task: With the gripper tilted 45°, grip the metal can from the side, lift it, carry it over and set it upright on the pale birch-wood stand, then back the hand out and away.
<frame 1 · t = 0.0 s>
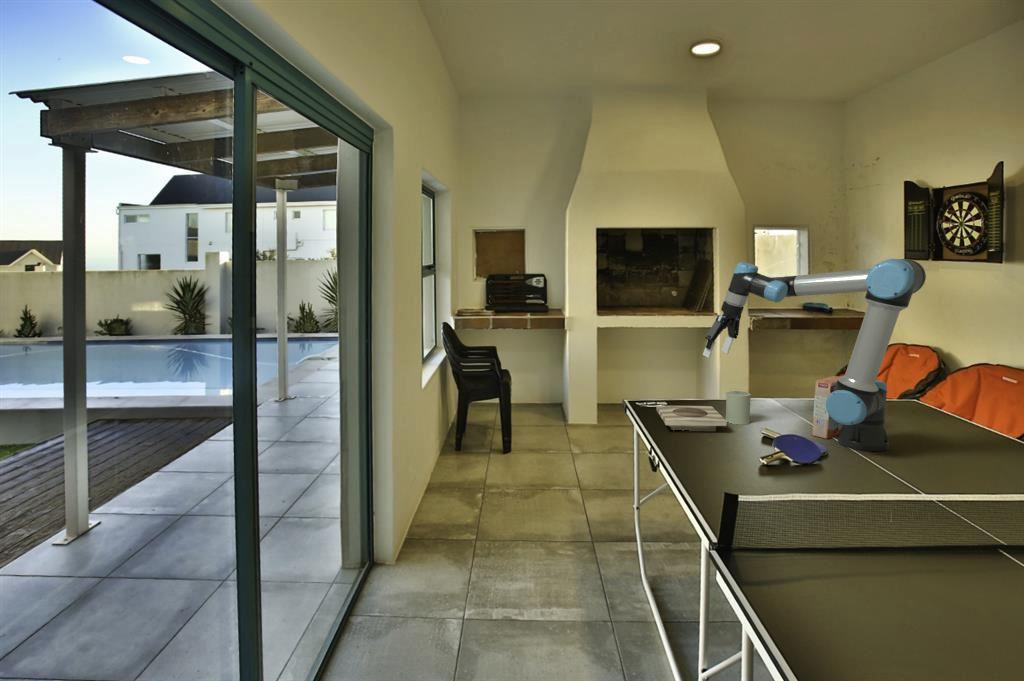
hand: (715, 354, 223), 28 cm above the table, tool tilted 20°, fingers open, 13 cm apart
stand: (689, 425, 225), on the table
can: (737, 422, 229), on the table
cracker box: (828, 434, 211), on the table
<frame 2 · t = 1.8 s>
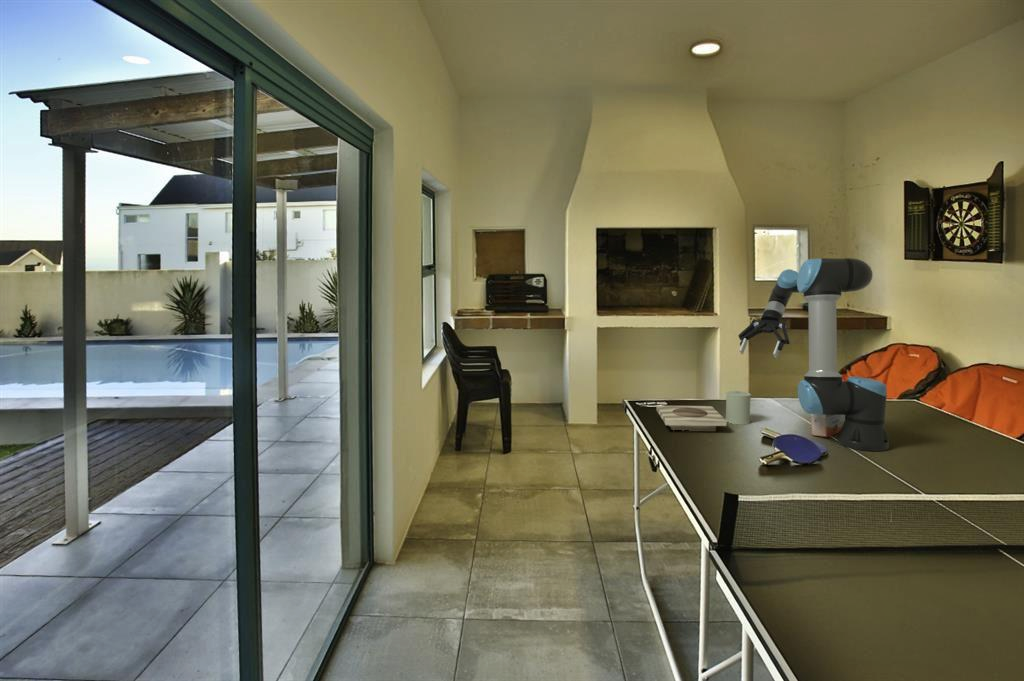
hand: (757, 354, 235), 26 cm above the table, tool tilted 45°, fingers open, 13 cm apart
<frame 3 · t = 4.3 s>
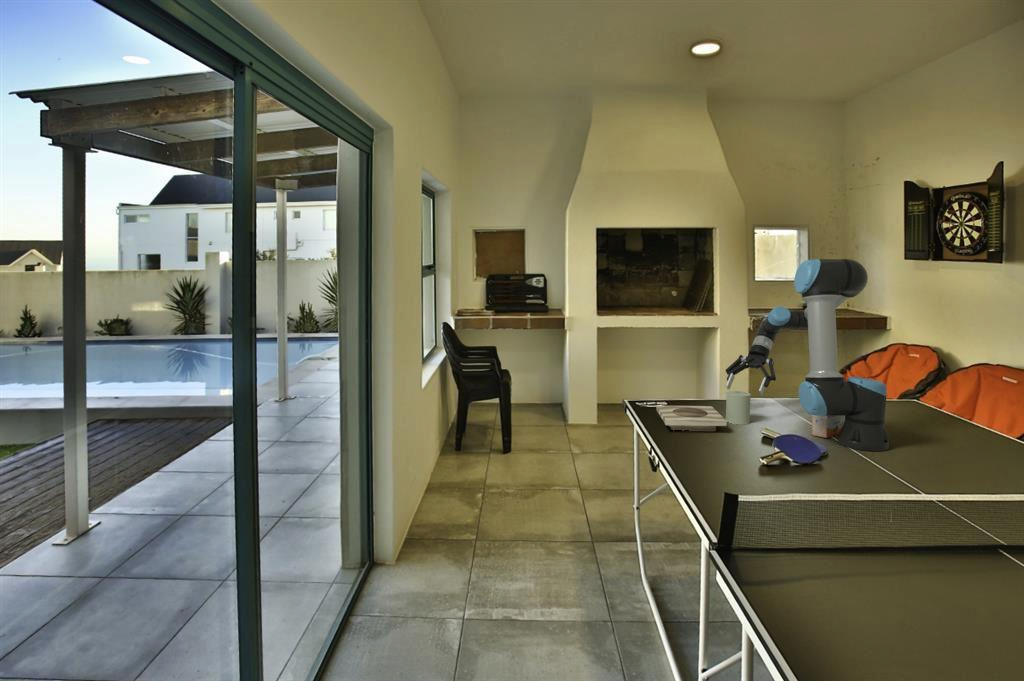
hand: (743, 390, 233), 12 cm above the table, tool tilted 45°, fingers open, 13 cm apart
cracker box: (828, 434, 211), on the table, touching arm
everything else where it was.
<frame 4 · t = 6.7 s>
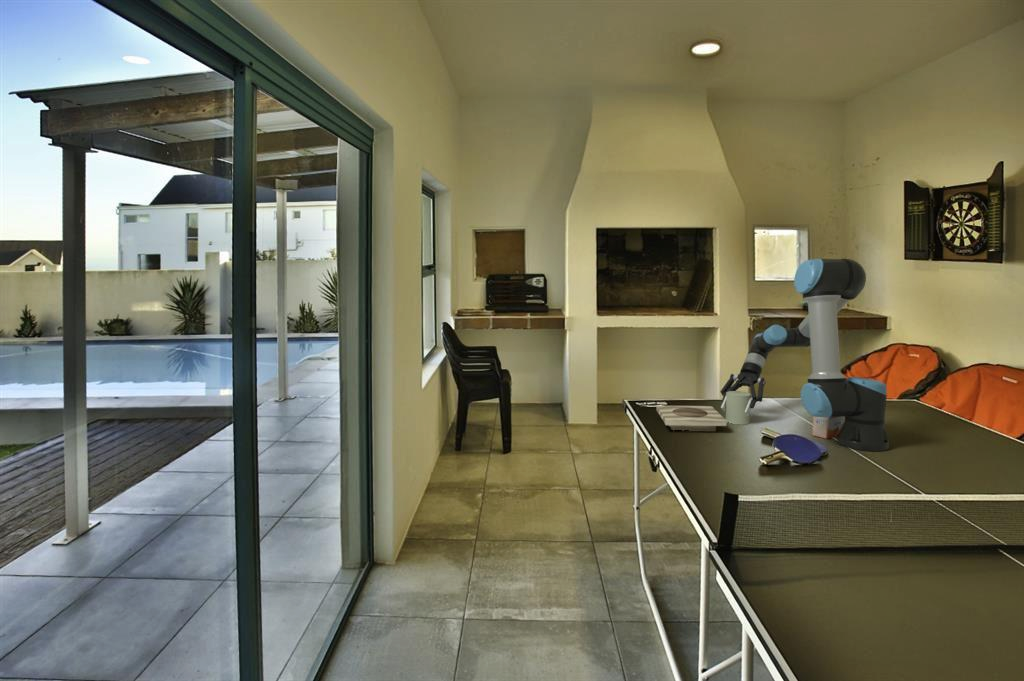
hand: (734, 411, 226), 5 cm above the table, tool tilted 45°, fingers closed on can, 9 cm apart
can: (737, 422, 229), on the table, touching gripper
cracker box: (828, 434, 211), on the table
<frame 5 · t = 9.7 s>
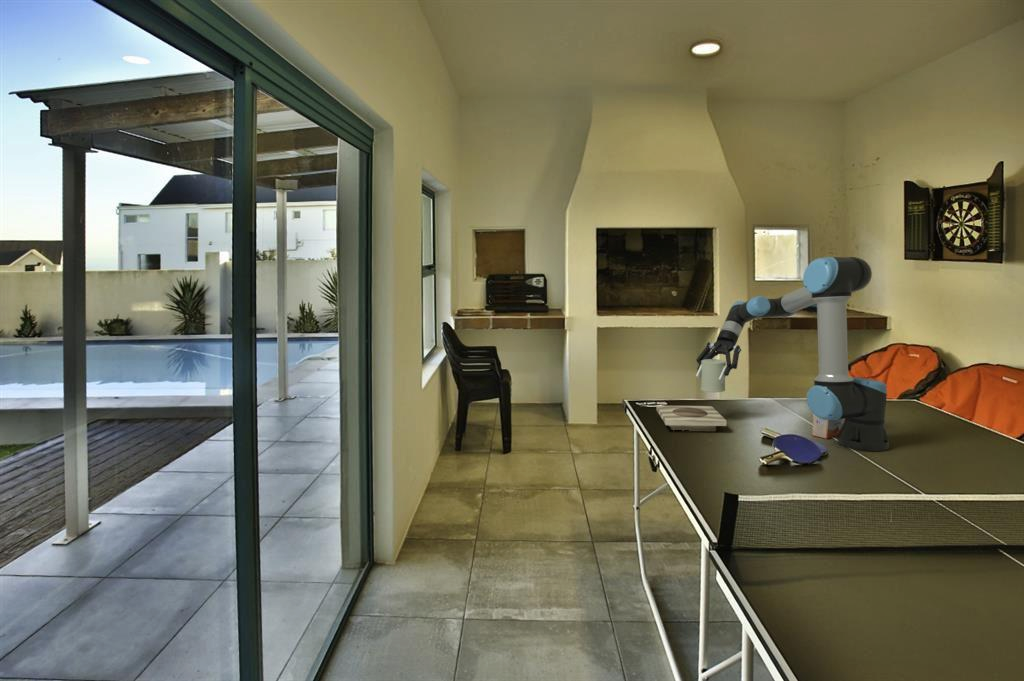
hand: (708, 379, 225), 18 cm above the table, tool tilted 45°, fingers closed on can, 9 cm apart
can: (712, 390, 228), point 13 cm above the table, touching gripper
everything else where it was.
when the fingers open (11 cm above the table, at t = 12.7 s): can drops 1 cm, resting on stand.
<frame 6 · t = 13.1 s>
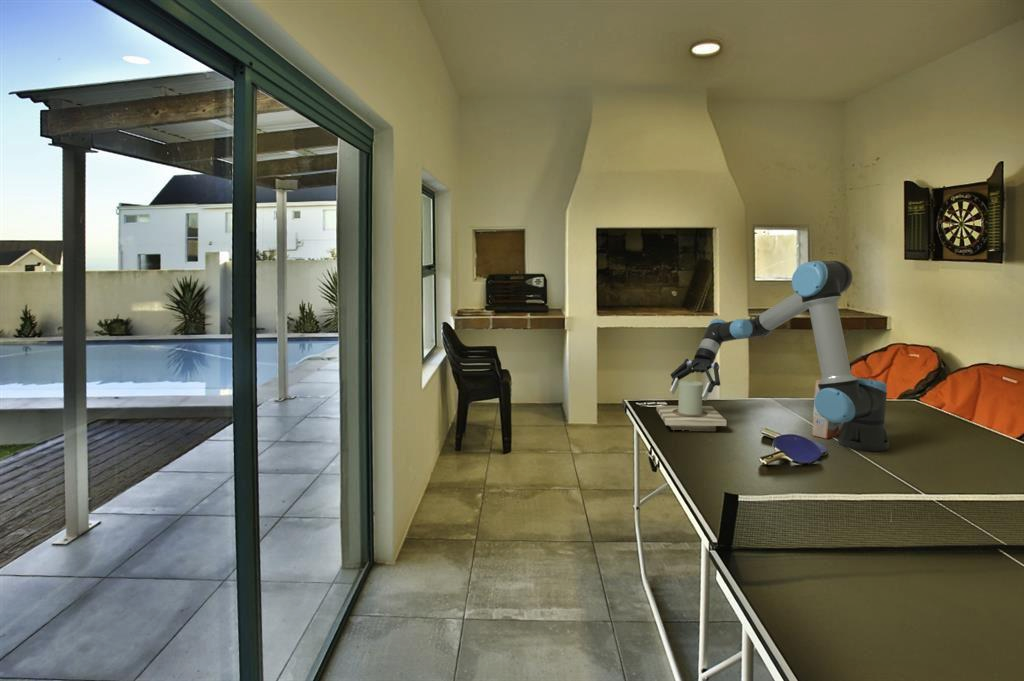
hand: (687, 395, 222), 12 cm above the table, tool tilted 45°, fingers open, 13 cm apart
can: (690, 412, 225), point 5 cm above the table, touching stand
everything else where it was.
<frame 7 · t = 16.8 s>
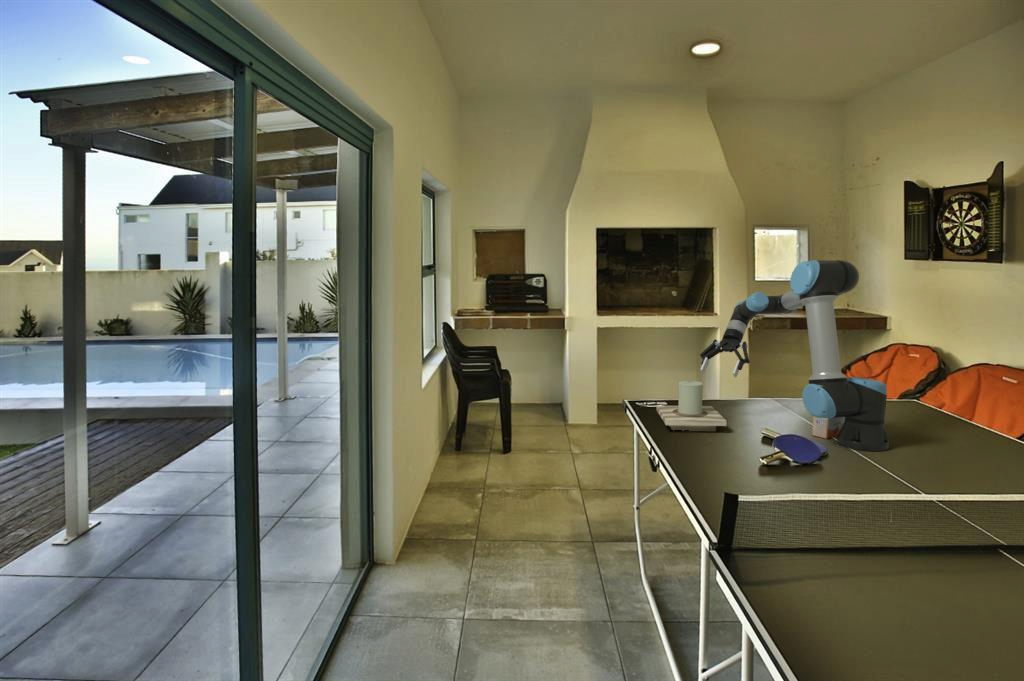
hand: (717, 373, 233), 18 cm above the table, tool tilted 45°, fingers open, 13 cm apart
nothing on the table moved.
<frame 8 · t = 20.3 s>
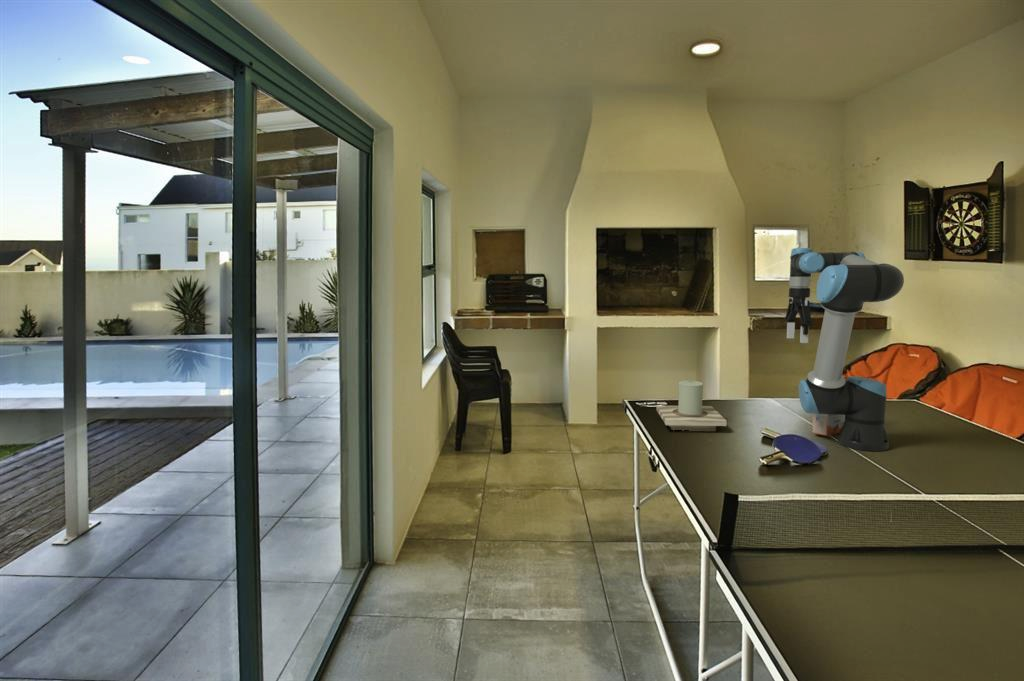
hand: (796, 340, 230), 32 cm above the table, tool pointing down, fingers open, 13 cm apart
cracker box: (828, 433, 211), on the table, touching arm
everything else where it was.
at the end: can inside the target area on the stand (0.1 cm from its centre), point 5.2 cm above the stand's base; can tilted 1°; the gripper is holding nothing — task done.
